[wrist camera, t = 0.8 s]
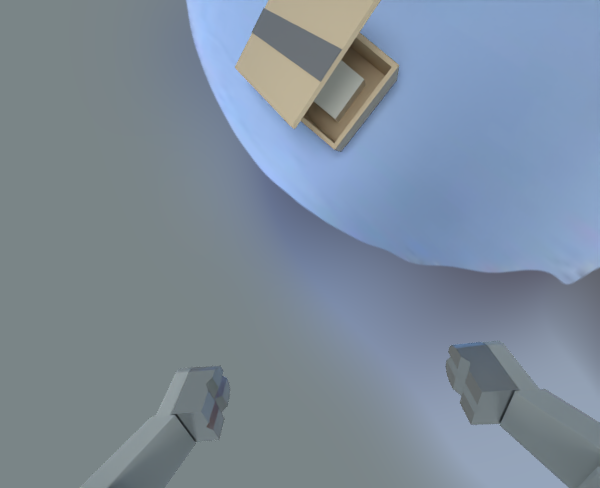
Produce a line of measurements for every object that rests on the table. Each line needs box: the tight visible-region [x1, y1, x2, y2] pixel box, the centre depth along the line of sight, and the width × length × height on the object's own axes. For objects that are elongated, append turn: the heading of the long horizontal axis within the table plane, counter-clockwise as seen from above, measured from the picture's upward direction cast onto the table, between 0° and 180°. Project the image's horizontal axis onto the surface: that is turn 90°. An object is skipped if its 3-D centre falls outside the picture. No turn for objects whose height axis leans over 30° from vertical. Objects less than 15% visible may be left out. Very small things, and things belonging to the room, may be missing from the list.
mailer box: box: [301, 33, 399, 152], centre depth 37 cm, size 18×12×6 cm, turn 52°
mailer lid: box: [235, 0, 381, 129], centre depth 29 cm, size 18×12×1 cm
